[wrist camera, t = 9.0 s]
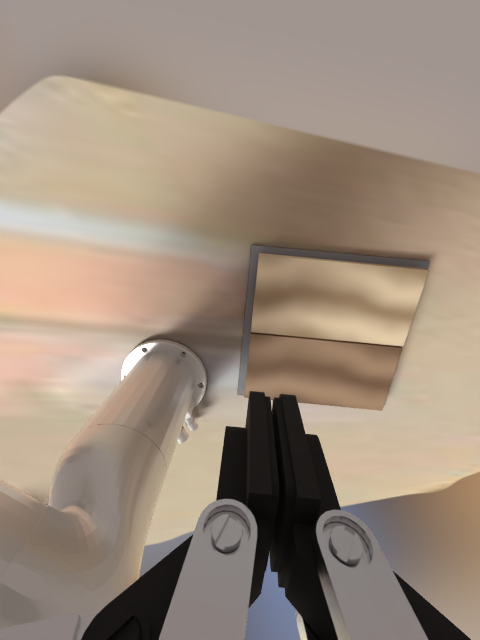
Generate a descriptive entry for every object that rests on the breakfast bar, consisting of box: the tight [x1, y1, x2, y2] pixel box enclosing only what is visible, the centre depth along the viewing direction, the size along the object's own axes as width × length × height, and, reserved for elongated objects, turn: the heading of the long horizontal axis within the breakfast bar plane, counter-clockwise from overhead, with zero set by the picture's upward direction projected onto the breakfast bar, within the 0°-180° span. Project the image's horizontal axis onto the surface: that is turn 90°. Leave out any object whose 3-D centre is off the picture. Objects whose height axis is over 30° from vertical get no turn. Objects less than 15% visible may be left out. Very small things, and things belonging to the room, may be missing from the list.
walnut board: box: [244, 332, 402, 411], centre depth 38 cm, size 10×20×2 cm, turn 85°
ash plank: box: [251, 253, 429, 346], centre depth 35 cm, size 10×20×2 cm, turn 85°
